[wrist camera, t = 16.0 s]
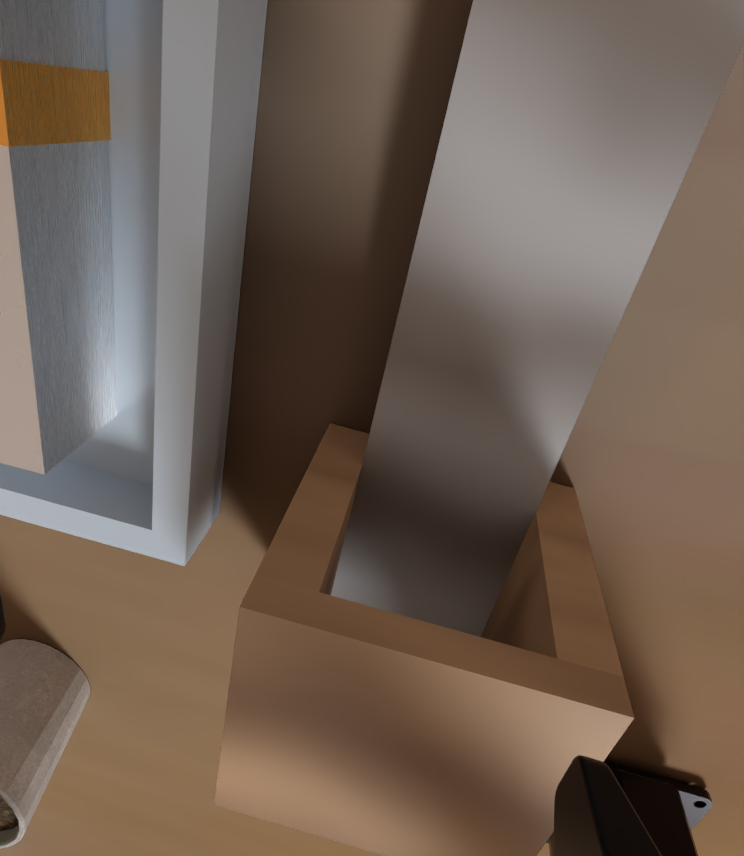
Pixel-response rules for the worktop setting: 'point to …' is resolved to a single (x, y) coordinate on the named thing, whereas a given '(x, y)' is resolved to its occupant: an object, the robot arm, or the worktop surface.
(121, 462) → the tray
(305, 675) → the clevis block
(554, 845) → the robot arm
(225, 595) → the worktop surface
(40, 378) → the beige and orange bar
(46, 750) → the house plant
